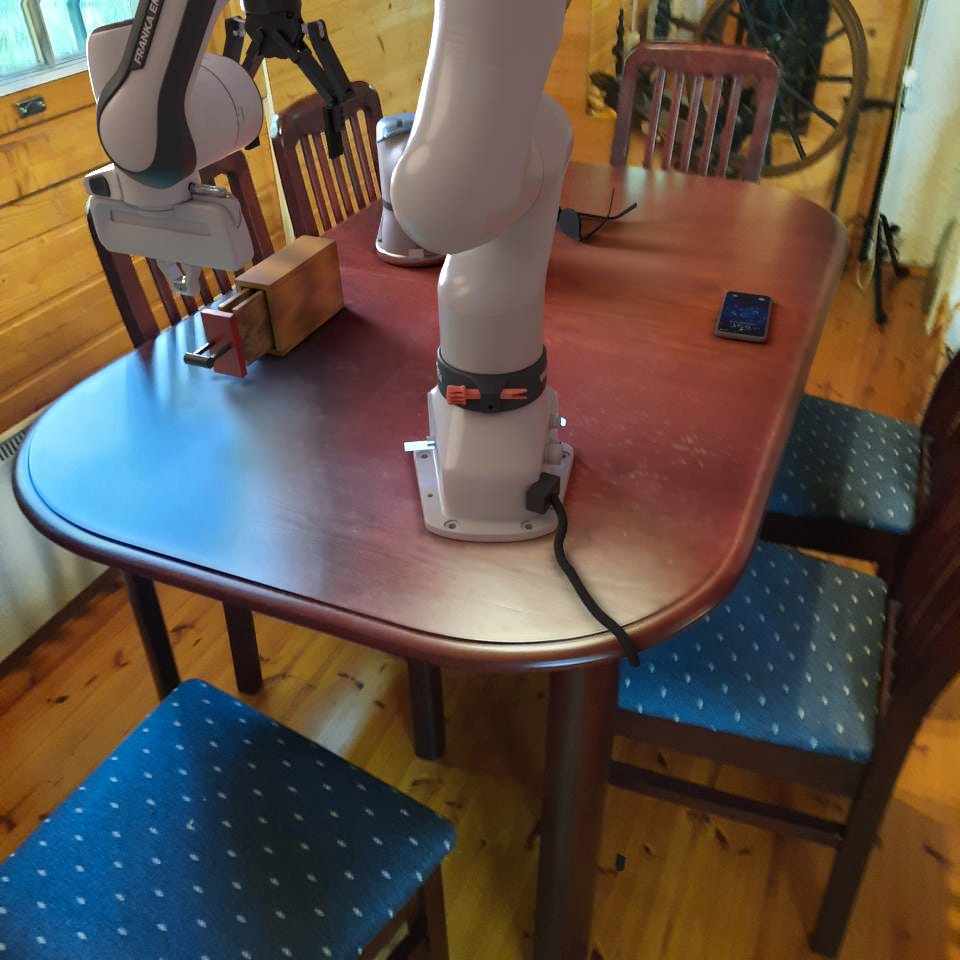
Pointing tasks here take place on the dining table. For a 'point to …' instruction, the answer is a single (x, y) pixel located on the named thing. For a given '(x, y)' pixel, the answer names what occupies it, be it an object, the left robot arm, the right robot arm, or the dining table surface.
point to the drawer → (235, 334)
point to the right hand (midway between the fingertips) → (187, 293)
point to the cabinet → (298, 288)
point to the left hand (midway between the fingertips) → (293, 152)
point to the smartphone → (744, 316)
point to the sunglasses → (572, 220)
